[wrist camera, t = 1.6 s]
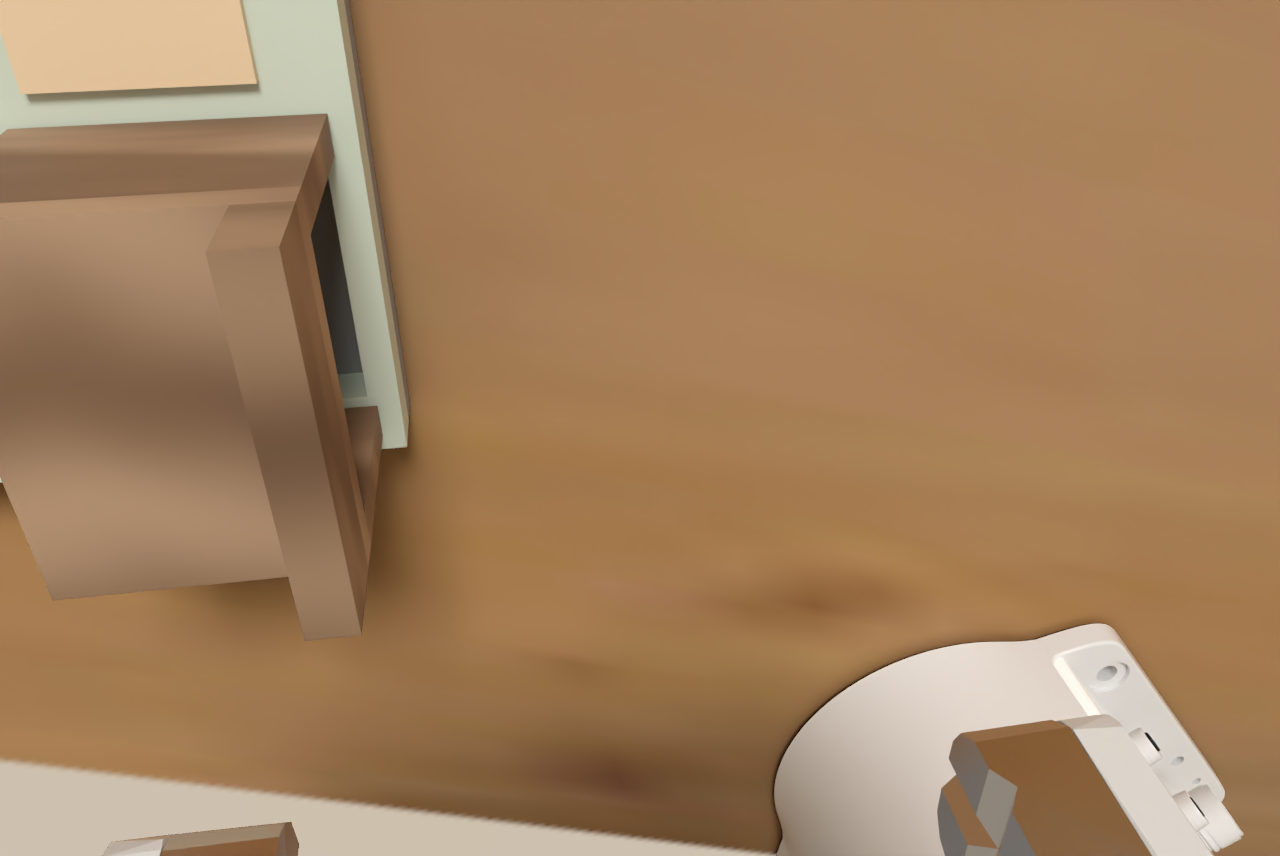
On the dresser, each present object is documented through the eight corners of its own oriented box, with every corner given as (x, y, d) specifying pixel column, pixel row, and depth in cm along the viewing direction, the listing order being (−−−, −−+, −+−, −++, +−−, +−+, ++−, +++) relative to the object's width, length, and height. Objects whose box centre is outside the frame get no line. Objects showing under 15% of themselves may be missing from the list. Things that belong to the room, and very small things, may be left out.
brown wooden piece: (382, 435, 29) (361, 635, 22) (120, 458, 28) (18, 672, 21) (327, 113, 24) (279, 247, 17) (7, 128, 23) (-170, 275, 17)
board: (410, 403, 31) (406, 453, 29) (-122, 447, 29) (-170, 503, 27) (316, -219, 23) (300, -217, 20) (-450, -211, 21) (-559, -207, 18)
